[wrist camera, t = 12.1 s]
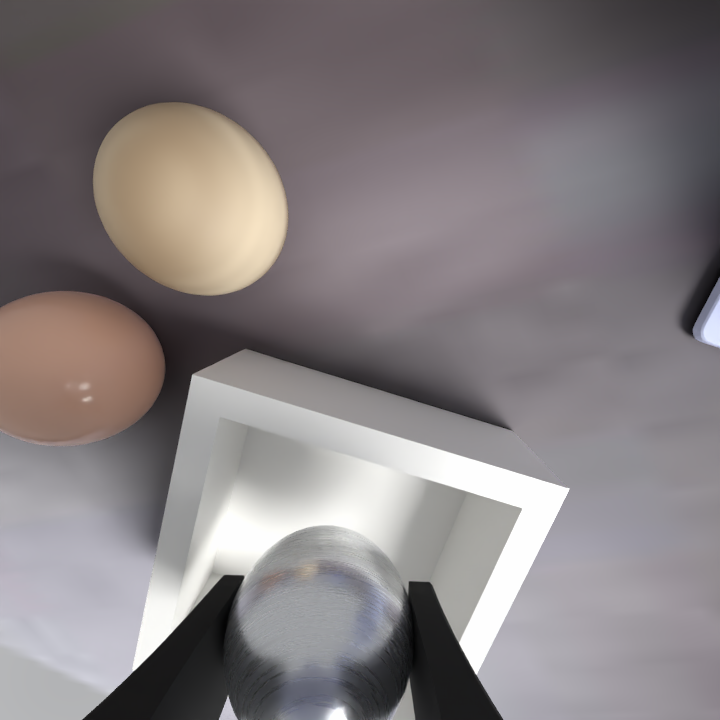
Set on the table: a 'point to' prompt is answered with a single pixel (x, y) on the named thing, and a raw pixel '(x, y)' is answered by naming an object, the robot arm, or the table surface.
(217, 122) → the light oak ball
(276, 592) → the steel ball
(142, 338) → the terracotta ball
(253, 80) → the table surface
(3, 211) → the table surface
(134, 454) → the table surface
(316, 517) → the off-white bin
